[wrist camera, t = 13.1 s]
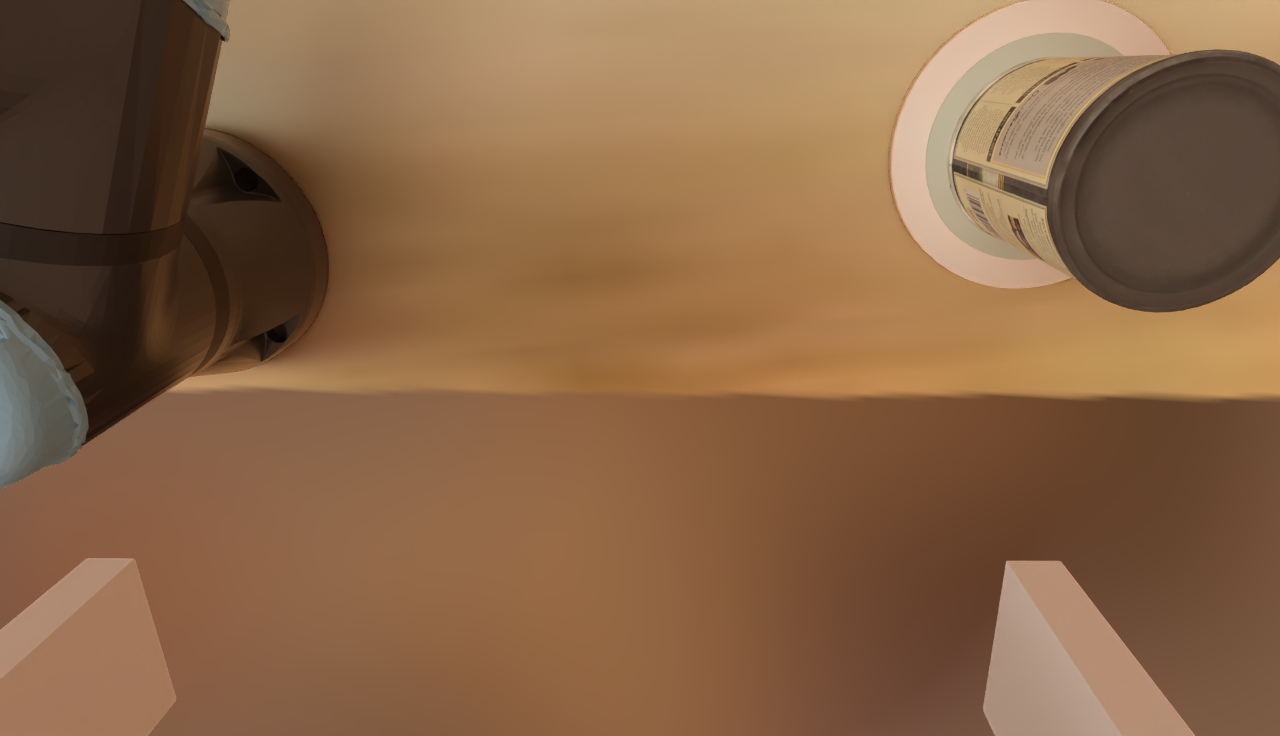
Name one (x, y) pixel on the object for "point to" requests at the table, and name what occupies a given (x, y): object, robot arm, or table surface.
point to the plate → (918, 154)
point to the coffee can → (1130, 171)
